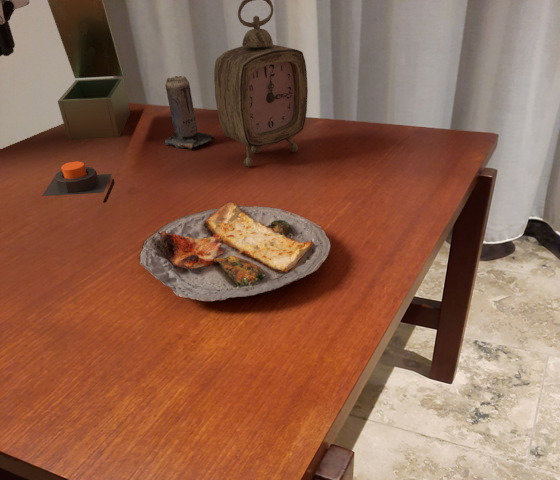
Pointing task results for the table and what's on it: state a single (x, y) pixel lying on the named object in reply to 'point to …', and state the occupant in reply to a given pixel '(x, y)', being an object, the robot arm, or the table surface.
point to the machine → (95, 108)
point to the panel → (80, 184)
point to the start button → (74, 170)
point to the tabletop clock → (261, 90)
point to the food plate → (234, 251)
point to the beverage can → (183, 115)
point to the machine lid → (86, 37)
